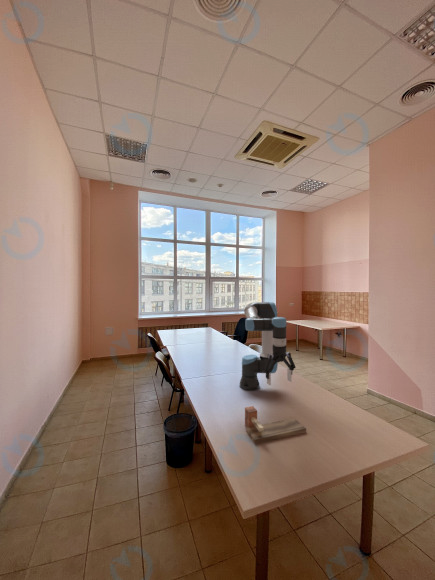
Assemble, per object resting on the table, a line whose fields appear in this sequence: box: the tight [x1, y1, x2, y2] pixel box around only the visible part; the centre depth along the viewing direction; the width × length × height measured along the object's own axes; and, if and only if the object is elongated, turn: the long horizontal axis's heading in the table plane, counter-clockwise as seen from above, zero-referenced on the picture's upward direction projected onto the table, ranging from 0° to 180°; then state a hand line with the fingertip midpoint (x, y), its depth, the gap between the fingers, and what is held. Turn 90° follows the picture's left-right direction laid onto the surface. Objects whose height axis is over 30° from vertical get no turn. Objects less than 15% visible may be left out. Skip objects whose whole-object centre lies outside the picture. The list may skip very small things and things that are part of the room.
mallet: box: [244, 405, 264, 436], centre depth 123 cm, size 15×5×10 cm, turn 17°
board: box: [245, 417, 307, 444], centre depth 123 cm, size 10×30×2 cm, turn 107°
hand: (279, 382), depth 131 cm, fingers open, 13 cm apart
